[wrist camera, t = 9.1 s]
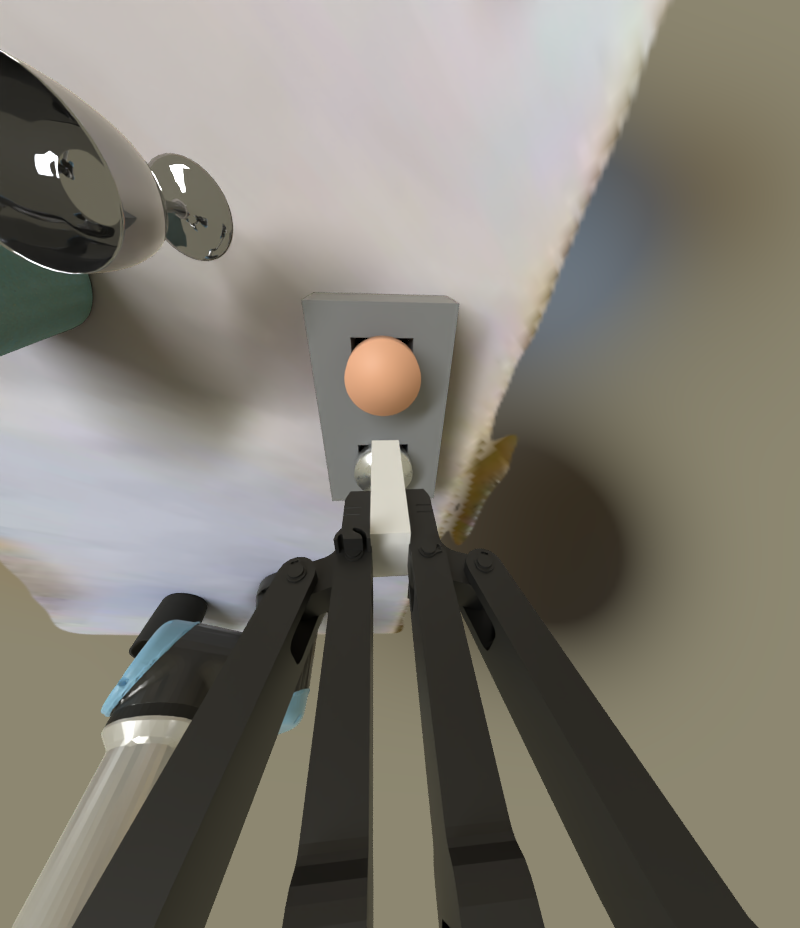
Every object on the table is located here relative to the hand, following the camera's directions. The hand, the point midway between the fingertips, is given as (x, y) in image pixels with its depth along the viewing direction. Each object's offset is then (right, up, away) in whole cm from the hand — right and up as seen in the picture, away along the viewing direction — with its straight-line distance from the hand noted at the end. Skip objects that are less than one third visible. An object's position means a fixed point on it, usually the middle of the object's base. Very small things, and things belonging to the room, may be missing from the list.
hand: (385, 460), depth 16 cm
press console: (-2, +8, +21) cm, 22 cm away
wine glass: (-18, +22, +9) cm, 30 cm away
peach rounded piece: (-1, +11, +15) cm, 19 cm away
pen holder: (-46, -30, +46) cm, 71 cm away
